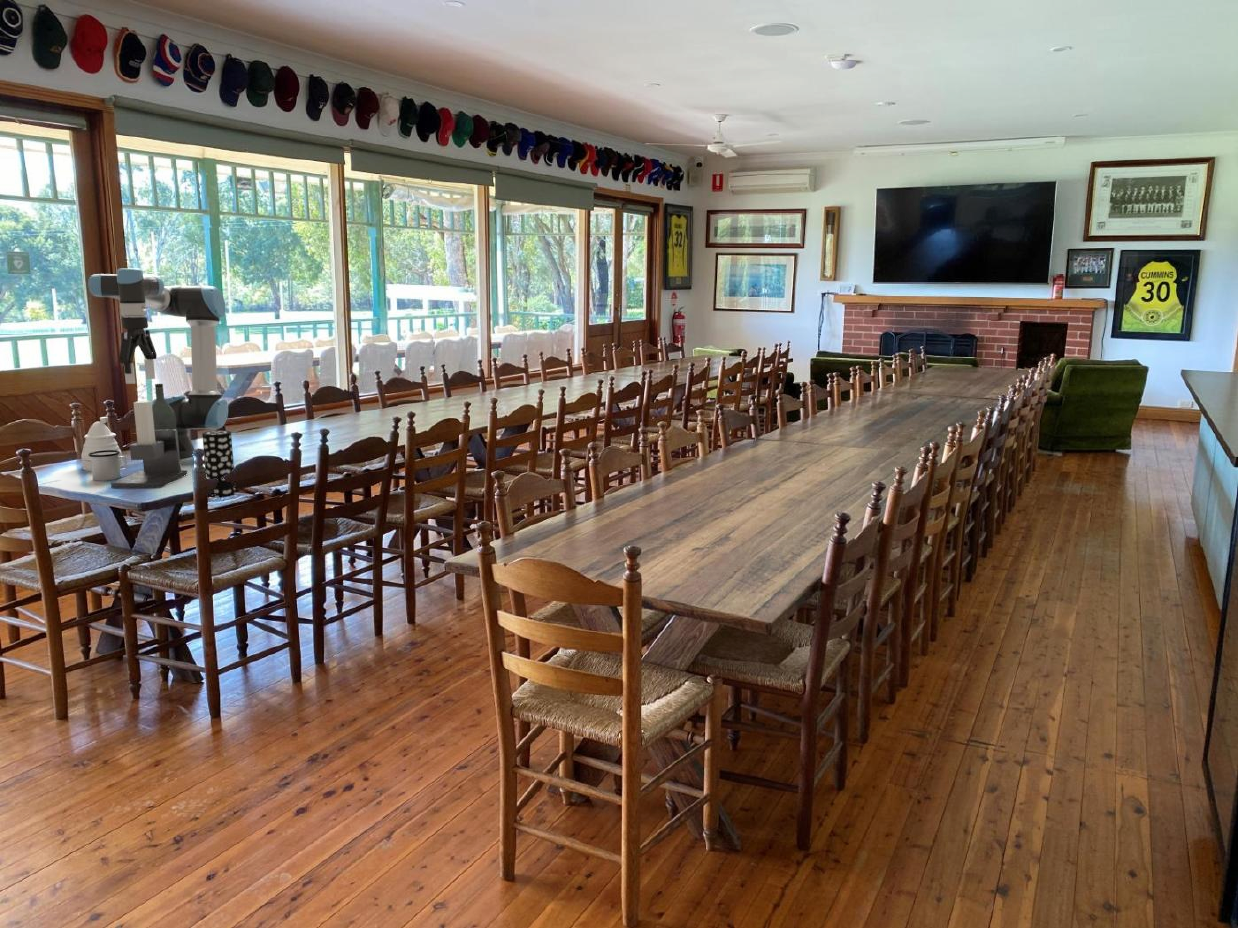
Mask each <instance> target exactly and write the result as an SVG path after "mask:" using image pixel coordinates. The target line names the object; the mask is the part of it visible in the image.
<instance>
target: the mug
mask: <svg viewBox="0 0 1238 928" xmlns="http://www.w3.org/2000/svg"><path fill="white" fill-rule="evenodd" d="M118 454H120V451H117V450H102V451H95V452H91V453H89V454H88V456H90V458H91V467H92V471H91V475H92V480H93V481H96V482H105V481H106V482H108V481H114V480H119V479H121V471H125V470H127V467H128V465H127V457H126V456H124V455H122V456H120V457H118ZM119 458H122V459H123V460H124V461H123V462H124V467H123V468H121V467H119Z"/></svg>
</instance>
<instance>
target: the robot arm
mask: <svg viewBox="0 0 1238 928" xmlns="http://www.w3.org/2000/svg"><path fill="white" fill-rule="evenodd" d="M87 285H88V289H89V292H90V294H91V295H92V296H94V297H98V298H112V299H117V300H119V309H120V316H122V317H121V327H122V329H124V330H126V332H121V342H120V343H121V345H120V350H119V352H120V353H119V359H118V361H119V364H123V369H124V370H123V371H124V377H125V384H126V385H131V384H132V385H133V384H134V385H135V384H136V376H135V366H134V363H133V359H134V356H135V352H136V348H139V349H140V351H141V353H142V354H143V356H144V357H145V359H144V360H143V361H144V370H145V379H147V380H156V372H155V360H157V352H156V349H155V345H154V344H153V343H154V342H153V341H152V337H151V333H150V329H148V327H149V322H148V317H147V316H146V315H147V314H148V313H147V310H148V309H150V310H151V311H153V312H157V313H161V314H164V315H169V316H172V317H180V318H185V322H186V323H187V324H188V325H189V326H190V347H191V349H190V350H191V352H190V353H191V378H192V379H191V381H192V385H191V386H192V388H191V391H189V393H187V395H188V398H186V396H185V394H174V395H173V394H172V395H167V396H164V399H165V400H166V401H167V403H168V404H169V405H170V406H171V408H172V409H173V410H174V413H175V417H176V430H177V434H178V445H179V455H180V459H183V458H184V459H185V458H189V457H193V456H192V454H193V451H194V450H195V451H196V449H195V446H194V444H193V441H192V439H191V437H190V435H189V430H210V431H211V430H218V429H219V430H220V429H221V428H223V426H225V423H226V421H227V419H228V416H229V405H228V401H227V400H226V399H225V398H222V393H221V392H220V391H219V390H218V376H217V375H218V370H217V369H218V368H217V341H216V339H217V337H216V334H217V333H216V326H217V325H219V324H220V318H222V317H224V316H225V314H226V313H225V312H226V301H225V298H224V295H223V294H222V292H221V290H219V288H217V287H216V286H214V285H213V286H212V285H166V286H165V283H164V281H163V280H162V278H161V277H160V276H159V275H156V274H152V273H143V270H142V269H141V268H136V267H135V268H128V267H127V268H118V269H117V270H116V274H115V273H113V274H111V273H105V274H104V273H96V274H95V273H94V274H92V275H90V277H88V283H87ZM155 401H156V398H154V399H153V400H152V406H153V404H154V402H155Z"/></svg>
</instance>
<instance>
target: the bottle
mask: <svg viewBox="0 0 1238 928" xmlns="http://www.w3.org/2000/svg"><path fill="white" fill-rule="evenodd" d="M154 387H155V399H156V401H155V402H154V404H153V406H152V411H153V422H154V430H176V417H175V413H174V410H173V409H172V408H171V406H170V405H169V404H168V403H167V401H166V400H165V399H164V397H165V395H164V394H165V393H164V384H163V383H155V384H154Z"/></svg>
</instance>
